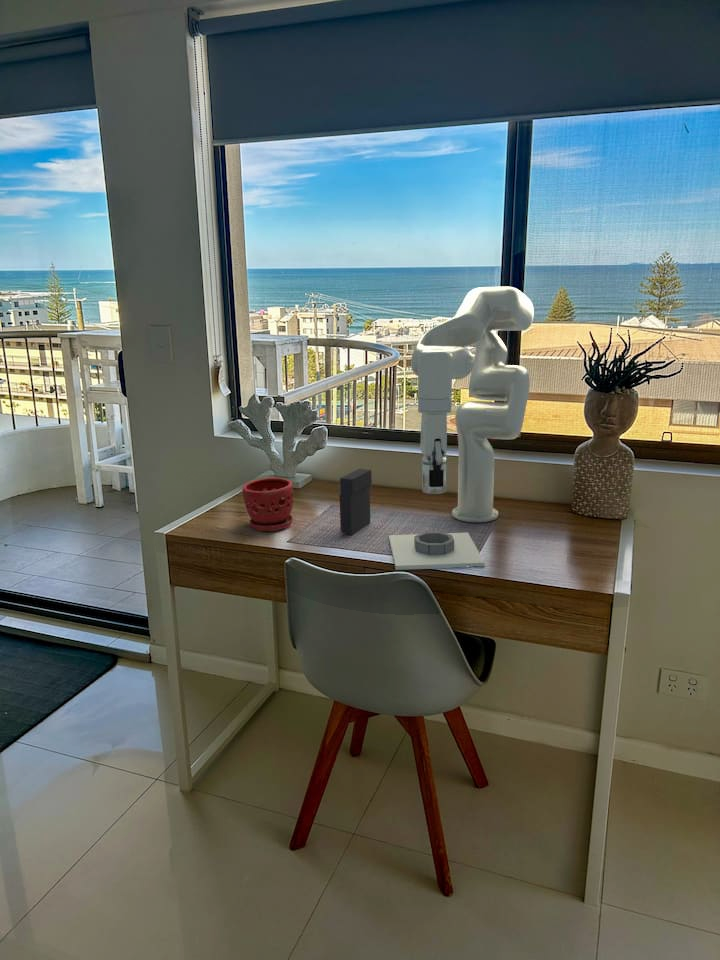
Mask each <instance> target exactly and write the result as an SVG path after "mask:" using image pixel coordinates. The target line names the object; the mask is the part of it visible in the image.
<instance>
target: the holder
mask: <svg viewBox="0 0 720 960" xmlns="http://www.w3.org/2000/svg"><path fill="white" fill-rule="evenodd" d="M388 540H389V545H390V546H389V547H390V549H391V554H392V558H393V559H394V560H393V559H392V560H393V563H394V567H395V568H394V569H395V571H404V570H405V571H406V570H425V569H426V570H430V569H431V570H432V569H433V570H434V569H454V568H453V567H464V568H473V567H472V566H486V562H485V560H484V559H483V557H482V555H481V554H480V551H479V550H478V548H477V546H476V544H475V542H474V541H473V539H472V537H471V535H470V534H469V532H452V533H451V532H442V531H423V532H421V533H419V534H418V533H415V534H414V533H413V534H389V535H388ZM467 566H468V567H467ZM451 567H452V568H451Z"/></svg>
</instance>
